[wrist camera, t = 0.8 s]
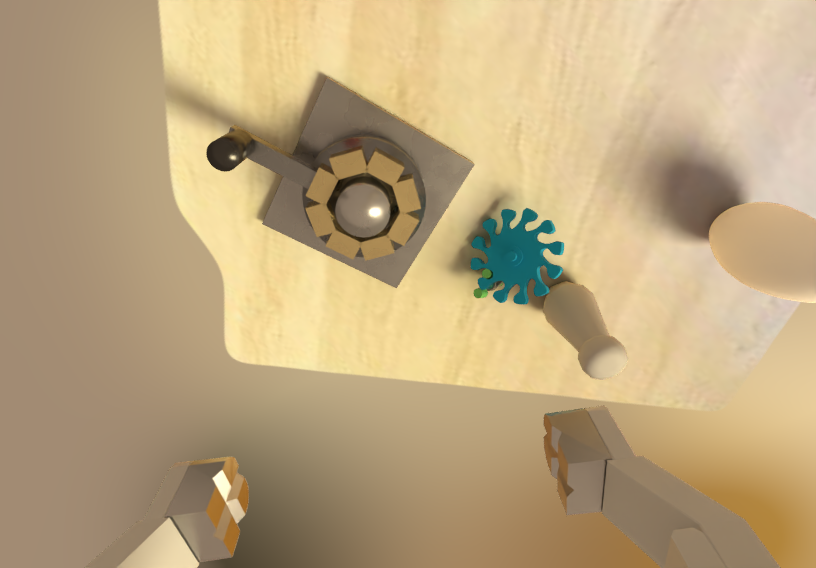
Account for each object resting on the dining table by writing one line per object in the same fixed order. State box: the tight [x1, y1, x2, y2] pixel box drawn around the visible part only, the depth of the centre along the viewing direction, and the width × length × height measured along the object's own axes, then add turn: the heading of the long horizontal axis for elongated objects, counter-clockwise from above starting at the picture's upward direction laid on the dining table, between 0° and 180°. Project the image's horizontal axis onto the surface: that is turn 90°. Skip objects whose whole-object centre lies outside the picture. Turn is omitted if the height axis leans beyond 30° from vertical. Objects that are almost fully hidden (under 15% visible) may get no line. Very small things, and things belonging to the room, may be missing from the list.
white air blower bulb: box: [709, 202, 816, 303], centre depth 42 cm, size 8×8×18 cm
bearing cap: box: [262, 77, 474, 288], centre depth 44 cm, size 16×16×6 cm
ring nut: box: [207, 125, 421, 261], centre depth 40 cm, size 10×18×6 cm, turn 60°
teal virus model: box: [471, 208, 564, 304], centre depth 48 cm, size 11×6×10 cm
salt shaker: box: [543, 281, 628, 380], centre depth 48 cm, size 6×6×13 cm
